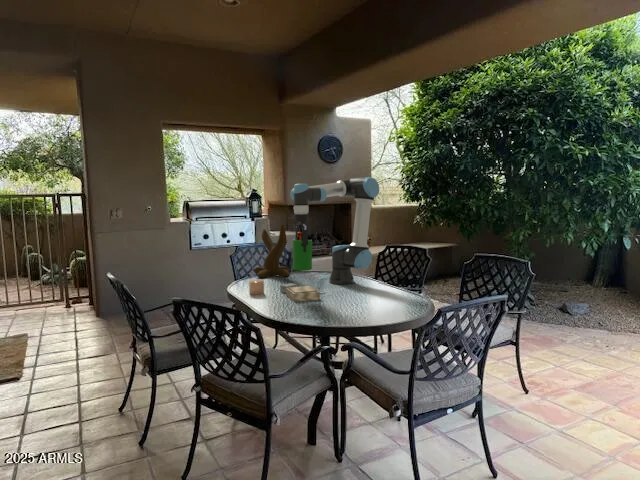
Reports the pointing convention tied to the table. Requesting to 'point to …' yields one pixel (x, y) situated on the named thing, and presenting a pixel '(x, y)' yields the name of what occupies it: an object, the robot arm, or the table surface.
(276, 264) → the wooden stand
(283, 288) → the grey stone block
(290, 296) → the plinth
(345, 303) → the table surface
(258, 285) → the tan rounded cylinder
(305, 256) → the motor
